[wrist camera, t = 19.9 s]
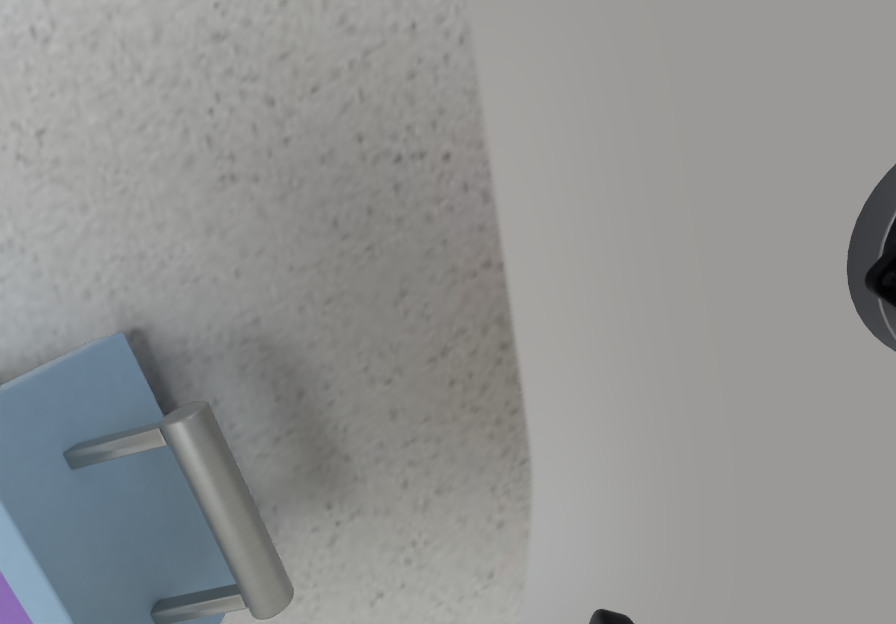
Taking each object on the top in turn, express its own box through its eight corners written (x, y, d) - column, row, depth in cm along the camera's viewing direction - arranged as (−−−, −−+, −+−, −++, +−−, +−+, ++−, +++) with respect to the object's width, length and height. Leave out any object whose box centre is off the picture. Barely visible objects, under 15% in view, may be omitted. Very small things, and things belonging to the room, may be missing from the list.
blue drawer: (239, 295, 19) (112, 371, 13) (350, 559, 22) (291, 729, 16) (-167, 416, 22) (-437, 527, 16) (-23, 637, 25) (-201, 807, 19)
